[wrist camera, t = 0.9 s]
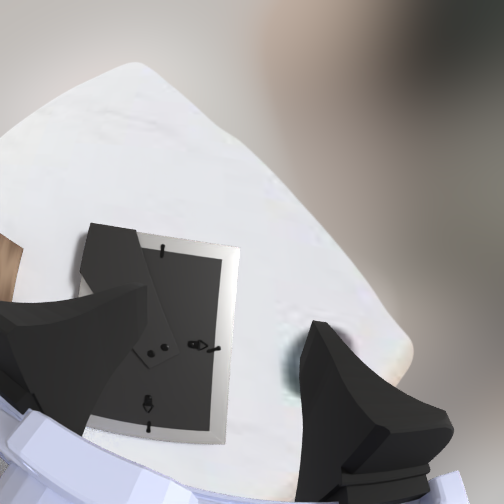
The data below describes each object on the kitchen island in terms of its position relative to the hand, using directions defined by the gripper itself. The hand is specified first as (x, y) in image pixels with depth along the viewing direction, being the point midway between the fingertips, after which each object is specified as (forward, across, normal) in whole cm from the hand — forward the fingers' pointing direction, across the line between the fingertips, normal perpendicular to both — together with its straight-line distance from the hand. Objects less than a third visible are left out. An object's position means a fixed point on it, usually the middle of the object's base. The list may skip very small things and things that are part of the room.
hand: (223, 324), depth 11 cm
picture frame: (+11, +8, +11) cm, 18 cm away
